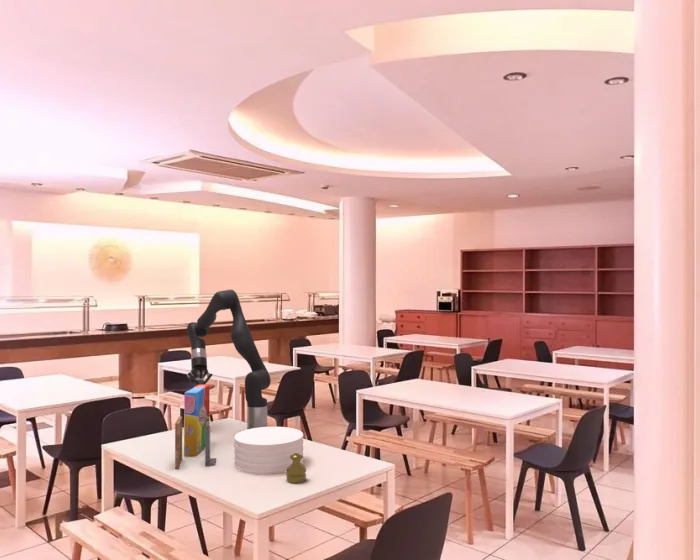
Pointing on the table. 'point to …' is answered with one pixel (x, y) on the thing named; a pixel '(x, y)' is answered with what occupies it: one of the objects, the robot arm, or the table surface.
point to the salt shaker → (296, 469)
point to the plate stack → (266, 449)
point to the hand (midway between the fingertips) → (200, 392)
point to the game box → (195, 419)
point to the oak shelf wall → (178, 442)
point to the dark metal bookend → (208, 449)
